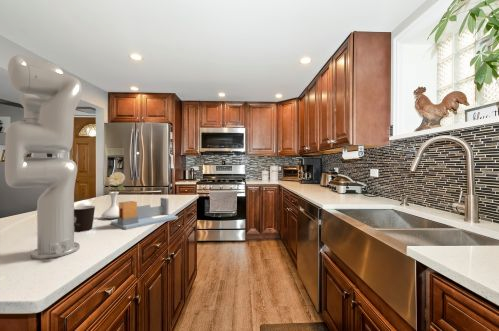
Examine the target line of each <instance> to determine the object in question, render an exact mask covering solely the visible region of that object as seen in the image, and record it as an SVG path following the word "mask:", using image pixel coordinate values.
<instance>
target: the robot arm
mask: <svg viewBox="0 0 499 331" xmlns="http://www.w3.org/2000/svg"><path fill="white" fill-rule="evenodd" d="M7 75H8V76H9V77H8V78H9V83H10V85H11V87H12V88H13V90H14V91H16V92H18V93H20V95H19V104H20V105H21V106H22V107H23V119H19V120H17V121H13V122H11V123H10V124H8V126H7V129H6V131H5V140H4V143H5V144H4V145H5V146H4V147H5V148H4V180H5V184H7V186H9V187H10V188H14V189H21V188H22V189H23V188H24V189H26V188H27V189H28V188H46V189H45V191H43V193H41V194H40V196H39V197H38V199H37V202H36V203H37V204H36V205H37V206H36V214H37V215H36V216H37V217H36V223H37V224H36V225H37V226H36V229H37V230H36V231H37V233H36V236H37V238H36V242H37V244H36V246H37V247H36V248H35V249H34V250H32V251H31V252H30V257H31V258H32V259H39V260H40V259H42V260H43V259H46V260H47V259H53V258H58V257H62V256H67V255H70V254H72V253H75V252H76V251H78V250H79V249H80V247H81V246H80V245H81V244H80V243H78V242H75V229H74V207H75V187H76V185H75V184H76V179H77V175H78V165H77V164H76V162H75V161H74V160H72V159H70V158H66V157H60V156H59V157H56V156H54V157H53V154H67V153H69V152H70V151H71V150H72V148H73V142H74V127H75V124H74V123H75V112H76V109H77V107H78V105H79V103H80V101H81V97H82V94H83V93H82V92H83V88H82V86H83V85H82V83H81V81H80V80H79V79H78V78H76V77H74V76H72V75H69V74H65V72H64V71H63V69H62V68H61V67H59V66H58V65H56V64H54V63H52V62H50V61H49V62H48V61H45V60H40V59H36V58H33V57H30V56H25V55H19V54H18V55H17V54H16V55H14V56H12V57H11V58H10V59H9V61H8V64H7ZM29 154H46V156H42V157H40V156H38V157H37V156H35V157H34V156H32V157H31V156H29V157H28V155H29Z"/></svg>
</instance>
